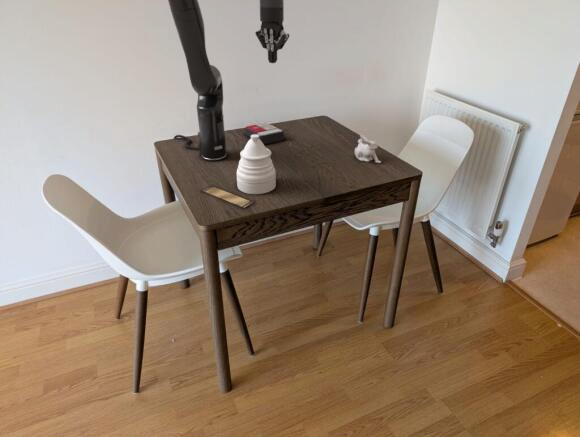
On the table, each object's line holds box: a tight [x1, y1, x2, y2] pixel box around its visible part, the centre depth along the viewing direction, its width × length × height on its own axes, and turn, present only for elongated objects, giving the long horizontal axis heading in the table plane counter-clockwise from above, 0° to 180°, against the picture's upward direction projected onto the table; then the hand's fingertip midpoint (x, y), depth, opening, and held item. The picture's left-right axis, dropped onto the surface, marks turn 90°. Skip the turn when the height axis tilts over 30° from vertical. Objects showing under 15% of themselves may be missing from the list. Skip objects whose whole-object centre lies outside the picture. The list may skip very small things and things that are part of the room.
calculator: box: [244, 122, 285, 145], centre depth 180 cm, size 11×4×15 cm
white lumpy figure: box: [354, 134, 382, 164], centre depth 158 cm, size 12×8×10 cm, turn 32°
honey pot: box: [236, 134, 277, 195], centre depth 138 cm, size 13×13×18 cm
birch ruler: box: [203, 185, 254, 209], centre depth 135 cm, size 18×4×1 cm, turn 53°
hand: (272, 62), depth 143 cm, fingers closed
